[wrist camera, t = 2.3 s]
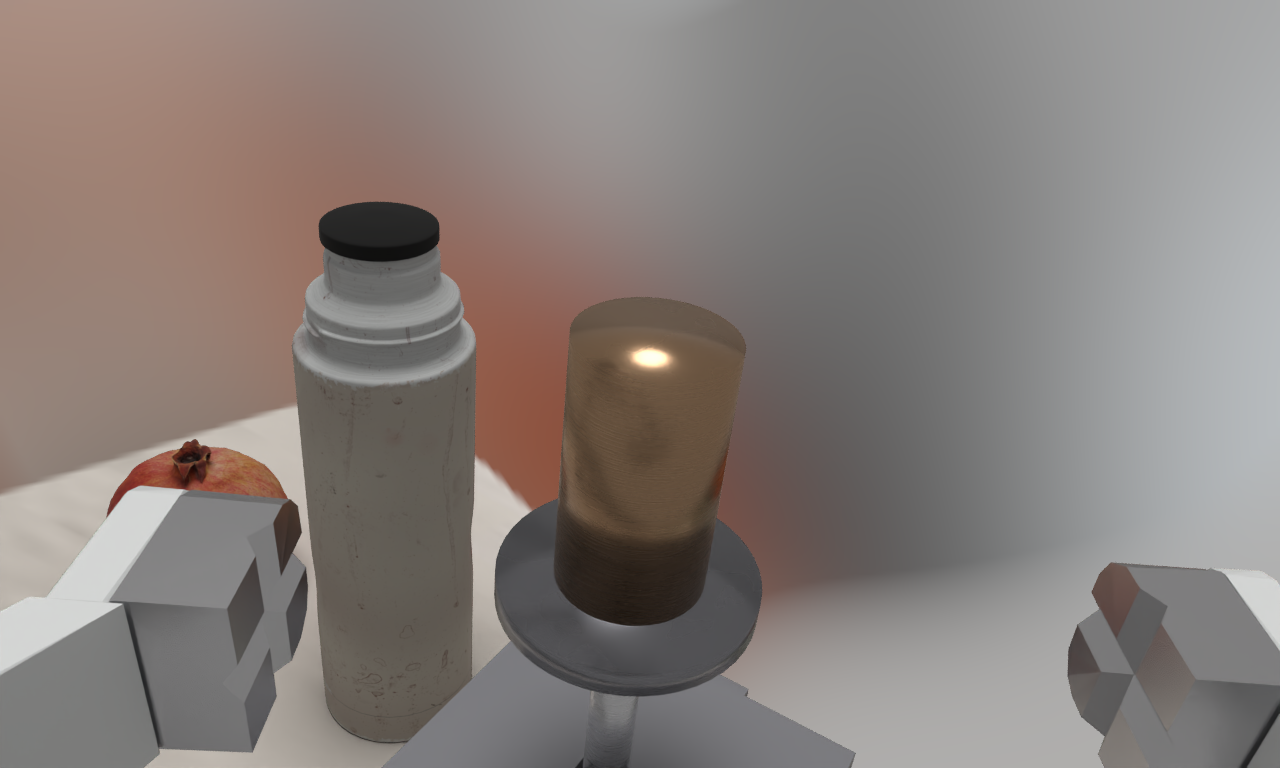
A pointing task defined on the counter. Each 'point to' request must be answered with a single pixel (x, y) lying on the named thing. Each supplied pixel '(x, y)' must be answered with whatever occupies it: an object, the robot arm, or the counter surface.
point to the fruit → (203, 473)
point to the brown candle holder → (635, 520)
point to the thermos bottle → (388, 468)
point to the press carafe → (557, 722)
